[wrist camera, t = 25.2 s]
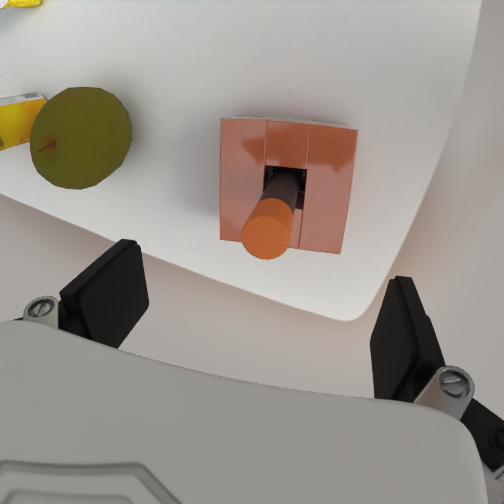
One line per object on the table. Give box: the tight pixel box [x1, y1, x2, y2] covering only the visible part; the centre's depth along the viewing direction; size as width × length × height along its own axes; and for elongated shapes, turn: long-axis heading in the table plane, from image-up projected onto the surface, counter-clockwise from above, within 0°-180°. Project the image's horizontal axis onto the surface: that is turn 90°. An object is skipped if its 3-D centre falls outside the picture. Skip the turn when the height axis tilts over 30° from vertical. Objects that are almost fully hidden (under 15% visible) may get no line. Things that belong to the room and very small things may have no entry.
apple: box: [30, 87, 132, 190], centre depth 24 cm, size 10×10×11 cm
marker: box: [241, 167, 301, 260], centre depth 22 cm, size 2×2×14 cm
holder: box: [220, 116, 358, 254], centre depth 26 cm, size 10×10×5 cm
